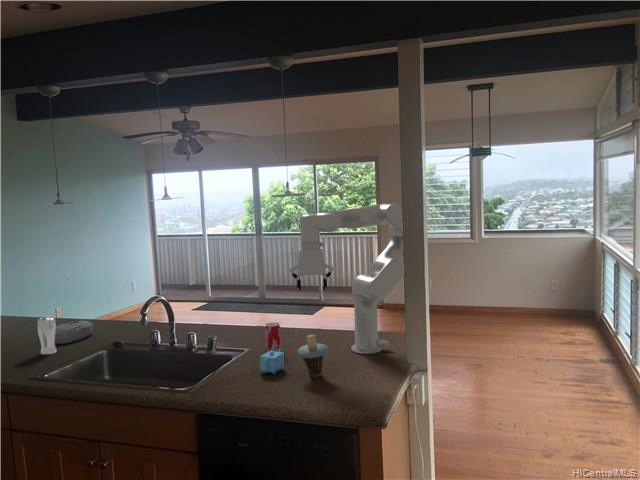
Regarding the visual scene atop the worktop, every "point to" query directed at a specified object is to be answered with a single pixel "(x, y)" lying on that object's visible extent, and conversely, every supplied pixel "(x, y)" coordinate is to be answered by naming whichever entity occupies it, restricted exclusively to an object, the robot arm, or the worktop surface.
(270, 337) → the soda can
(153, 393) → the worktop surface
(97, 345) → the worktop surface
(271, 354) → the light blue box
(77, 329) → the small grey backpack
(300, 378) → the worktop surface
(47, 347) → the beer glass
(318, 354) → the lid
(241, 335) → the worktop surface
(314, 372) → the cup
